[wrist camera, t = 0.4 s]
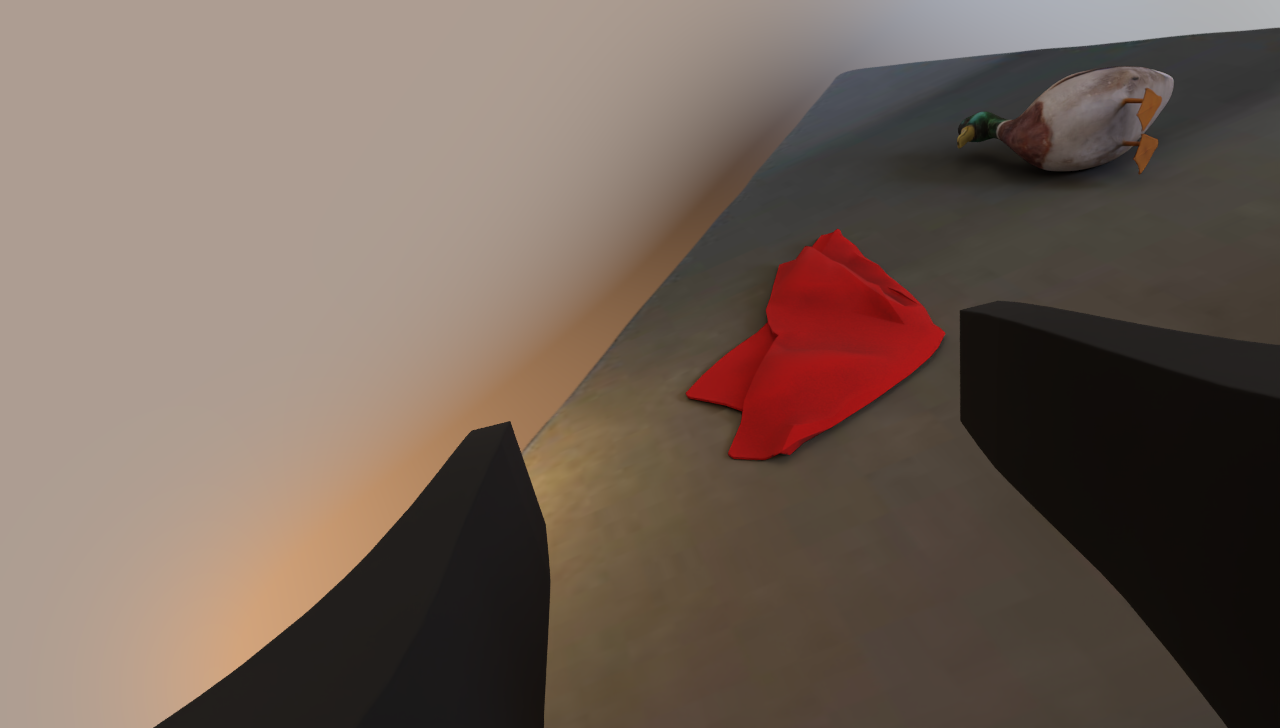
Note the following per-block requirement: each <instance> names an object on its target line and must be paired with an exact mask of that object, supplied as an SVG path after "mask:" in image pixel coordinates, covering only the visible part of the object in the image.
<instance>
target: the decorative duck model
mask: <svg viewBox="0 0 1280 728" xmlns="http://www.w3.org/2000/svg"><path fill="white" fill-rule="evenodd" d="M1173 84H1174V81H1173V78H1172V77H1171V76H1169V75H1167V74H1165V73H1162V72H1159V71H1155V70H1151V69H1148V68H1144V67H1133V66H1115V67H1107V68H1100V69H1093V70H1088V71H1083V72H1079V73H1076V74H1072V75H1070V76H1067V77H1065V78H1063V79H1062V80H1060V81H1058V82H1057V83H1055V84H1054V85H1053V86H1051V87H1050V88H1049V89H1048V90H1046V91H1045V92H1044V93H1043V94H1042V95H1041V96H1039V97H1038V98H1037V99H1036V100H1035V101H1034V102H1033V103H1032V104H1031V105H1030V106H1029V108H1028V109H1027V110H1026V111H1025V112H1024V113H1023V114H1022V115H1021V116H1020V117H1018V118H1016V119H1014V120H1007V119H1004V118H1001V117H999V116H997V115H995V114H993V113H990V112H980V113H977V114H975V115H972V116H970V117H968V118H966V119H965V120H964V121H962V122H961V124H960V125H959V128H958V133H959V137H958V139H957V144H958V148H961V147H963V146H964V145H965V144H966V143H967V142H981V141H985V140H988V139H991V138H997V139H1000V140H1001V141H1003V142H1004V143H1005V144H1006V145H1008V146H1009V147H1010V148H1011V149H1012V150H1013V151H1014V152H1016V153H1017V154H1018V155H1019V156H1020V157H1022V158H1023V159H1024V160H1025V161H1027V162H1028V163H1030V164H1032V165H1034V166H1036V167H1038V168H1041V169H1044V170H1048V171H1077V170H1083V169H1087V168H1092V167H1096V166H1099V165H1102V164H1105V163H1107V162H1110V161H1112V160H1114V159H1116V158H1118V157H1119V156H1121V155H1122V154H1124V153H1125V152H1126V151H1128V150H1129V149H1130V148H1131V147H1132V146H1139V147H1138V150H1137V152H1136V155H1135V157H1134V158H1133V160H1135V162H1136V163H1137V165H1138V167H1139V175H1140V174H1141V173H1142V171H1143V170H1144V168H1145V167H1146V166H1147V164H1148V162H1149V160H1150V158H1151V156H1152V154H1153V152H1154V151H1155V149H1156V148H1157V146H1158V139H1154V138H1152V137H1150V136H1148V135H1146V134H1144V132H1145V131H1146V130H1147V129H1148V128H1149V127H1150V125H1151V124H1152V123H1153V122H1154V120H1155V119H1156V118H1157V116H1158V115H1159V113H1160V112H1161V111H1162V109H1163V108H1164V106H1165V105H1166V104H1167V102H1168V100H1169V99H1170V97H1171V94H1172V91H1173ZM1141 136H1142V137H1141ZM1140 137H1141V141H1140V142H1137V140H1138V139H1139V138H1140Z"/></svg>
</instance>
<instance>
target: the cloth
mask: <svg viewBox="0 0 1280 728" xmlns="http://www.w3.org/2000/svg"><path fill="white" fill-rule="evenodd" d="M766 313H767V318H768V322H767V323H766V324H765V325H764V326H763V327H762V328H761V329H760V330H759V331H758V332H757V333H756V334H754V335H753V336H751V337H750V338H748V339H747V340H746V341H744V342H743V343H741V344H740V345H738V346H737V347H736V348H734V349H733V350H732V351H730V352H729V353H728V354H726V355H725V356H724V357H722V358H721V359H720V360H719V361H718V362H717V363H716V364H715V365H713V366H712V367H711V368H710V369H709V370H708V371H707V372H706V373H705V374H703V375H702V376H701V377H700V378H699V379H698V381H697V382H696V383H695V384H694V385H693V386H692V387H691V388H690V389H689V390H688V391H687V392H686V395H687V397H688V398H690V399H695V400H700V401H705V402H711V403H716V404H721V405H725V406H728V407H731V408H734V409H737V410H740V411H742V420H741V424H740V426H739V429H738V431H737V433H736V436H735V438H734V441H733V443H732V445H731V448H730V450H729V452H728V455H729V456H730V457H732V458H733V459H750V460H766V459H769V458H771V457H773V456H776V455H778V454H780V453H781V454H787V455H790V454H792V453H793V452H794V451H795V450H796V449H797V448H798V447H800V446H801V445H802V444H803V443H804V442H806V441H808V440H810V439H811V438H813V437H815V436H817V435H819V434H820V433H822V432H824V431H826V430H828V429H829V428H831V427H833V426H834V425H836V424H838V423H839V422H841V421H842V420H844V419H845V418H847V417H849V416H850V415H852V414H853V413H855V412H856V411H858V410H859V409H861V408H863V407H864V406H866V405H867V404H869V403H870V402H872V401H873V400H875V399H876V398H878V397H879V396H880V395H882V394H883V393H885V392H886V391H887V390H889V389H890V388H892V387H893V386H894V385H896V384H897V383H899V382H900V381H902V380H903V379H904V378H906V377H907V376H909V375H910V374H911V373H912V372H913V371H915V370H916V369H917V368H918V367H919V366H920V365H922V364H923V363H924V362H925V361H926V360H927V359H928V358H930V356H931V355H932V354H933V353H934V352H935V351H936V349H937V348H938V347H939V345H940V343H941V341H942V339H943V337H944V335H945V332H944V331H943V330H941V329H940V328H939V327H937V326H935V325H934V324H933V322H932V320H931V318H930V317H929V315H928V313H927V311H926V309H925V308H924V307H923V306H922V305H921V304H920V303H919V302H918V301H917V300H916V299H915V298H914V297H913V296H912V295H911V294H910V293H909V292H908V291H907V290H906V289H905V288H903V287H902V286H901V285H900V284H898V283H897V282H896V281H895V280H893V279H892V278H891V277H890V276H888V275H887V274H886V273H885V272H884V271H883V269H882V268H881V267H880V266H879V265H877V264H875V263H874V262H872V261H870V260H868V259H867V258H865V257H864V256H863V255H862V254H861V252H860V251H859V250H858V248H857V247H856V246H855V245H854V244H853V243H851V242H850V241H849V240H847V239H846V238H845V237H843V236H842V234H841V231H840V230H839V229H836V230H835V231H834V232H833V233H830V234H826V235H821V237H820V238H819V239H818V240H817V241H816V242H815V243H814V245H813V246H812V247H809V246H805V247H804V249H803V250H802V251H801V253H800V254H799V256H798V257H797V258H796V260H793V261H790V262H787V263H784V264H780V265H779V268H778V271H777V275H776V278H775V282H774V285H773V289H772V293H771V297H770V300H769V303H768V305H767V308H766Z"/></svg>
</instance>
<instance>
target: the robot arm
mask: <svg viewBox="0 0 1280 728" xmlns="http://www.w3.org/2000/svg"><path fill="white" fill-rule="evenodd" d="M960 421H961V422H962V424H963V425H964V426H965V428H966V429H967V431H968V432H969V433H970V435H971V436H972V438H973V439H974V441H975V442H976V443H977V445H978V446H979V447H980V449H981V450H982V451H983V453H984V454H985V455H986V456H987V458H988V459H989V460H990V462H991V463H992V464H993V465H994V467H995V468H996V469H997V470H998V471H999V472H1000V473H1001V474H1002V475H1003V476H1004V477H1005V478H1006V479H1007V481H1008V482H1009V483H1010V484H1011V485H1012V486H1013V487H1014V488H1015V489H1016V490H1017V491H1018V492H1019V493H1020V494H1021V495H1022V496H1023V497H1024V498H1025V499H1026V500H1027V501H1028V502H1029V503H1030V504H1031V505H1032V506H1033V507H1034V508H1035V509H1036V510H1037V511H1039V512H1040V513H1041V514H1042V515H1043V516H1044V517H1045V518H1046V519H1047V520H1048V521H1049V522H1050V523H1051V524H1052V525H1053V526H1054V527H1055V528H1056V529H1057V530H1058V531H1059V532H1060V533H1061V534H1062V535H1063V536H1064V537H1065V538H1066V539H1067V540H1068V541H1069V542H1070V543H1071V544H1072V545H1073V546H1074V547H1075V548H1076V549H1077V550H1078V551H1079V552H1080V553H1081V554H1082V555H1083V556H1084V557H1085V558H1086V559H1087V560H1088V561H1089V562H1090V563H1091V564H1092V565H1093V566H1094V567H1096V568H1097V569H1098V570H1099V571H1100V572H1101V573H1102V575H1103V576H1104V577H1105V578H1106V579H1107V580H1108V581H1109V582H1110V583H1111V584H1112V585H1113V586H1114V587H1115V588H1116V590H1117V591H1118V592H1119V593H1120V594H1121V595H1122V596H1123V597H1124V598H1125V599H1126V600H1127V602H1128V603H1129V604H1130V605H1131V607H1132V608H1133V609H1134V610H1135V611H1136V613H1137V614H1138V615H1139V616H1140V617H1141V619H1142V620H1143V621H1144V622H1145V623H1146V625H1147V626H1148V627H1149V628H1150V630H1151V631H1152V632H1153V633H1154V634H1155V636H1156V637H1157V638H1158V639H1159V640H1160V642H1161V643H1162V644H1163V645H1164V646H1165V648H1166V649H1167V650H1168V651H1169V652H1170V654H1171V655H1172V656H1173V657H1174V659H1175V660H1176V661H1177V663H1178V664H1179V665H1180V666H1181V668H1182V669H1183V670H1184V672H1185V673H1186V674H1187V675H1188V677H1189V678H1190V679H1191V681H1192V682H1193V683H1194V684H1195V686H1196V687H1197V688H1198V690H1199V691H1200V692H1201V693H1202V695H1203V696H1204V697H1205V699H1206V700H1207V701H1208V702H1209V704H1210V705H1211V706H1212V708H1213V709H1214V710H1215V711H1216V713H1217V714H1218V715H1219V717H1220V718H1221V719H1222V720H1223V722H1224V723H1225V724H1226V726H1227V727H1228V728H1280V345H1273V344H1265V343H1257V342H1249V341H1241V340H1234V339H1228V338H1221V337H1214V336H1208V335H1201V334H1195V333H1188V332H1182V331H1176V330H1170V329H1164V328H1159V327H1153V326H1147V325H1142V324H1137V323H1131V322H1126V321H1121V320H1115V319H1110V318H1105V317H1100V316H1094V315H1089V314H1084V313H1079V312H1073V311H1068V310H1063V309H1057V308H1052V307H1046V306H1039V305H1033V304H1026V303H1018V302H1007V301H996V302H992V303H988V304H983V305H979V306H975V307H971V308H967V309H963V310H960ZM549 604H550V568H549V555H548V544H547V533H546V524H545V521H544V518H543V515H542V512H541V509H540V507H539V504H538V501H537V498H536V495H535V492H534V489H533V486H532V483H531V480H530V477H529V475H528V472H527V469H526V466H525V463H524V460H523V457H522V454H521V451H520V448H519V445H518V443H517V440H516V437H515V434H514V431H513V428H512V425H511V422H510V421H509V422H505V423H501V424H497V425H493V426H489V427H485V428H481V429H477V430H473V431H471V432H470V433H469V434H468V435H467V436H466V437H465V439H464V440H463V441H462V443H461V444H460V445H459V446H458V447H457V449H456V450H455V451H454V453H453V454H452V455H451V456H450V457H449V459H448V460H447V461H446V463H445V464H444V465H443V467H442V468H441V469H440V470H439V472H438V473H437V474H436V475H435V477H434V478H433V479H432V480H431V482H430V483H429V484H428V485H427V487H426V488H425V489H424V490H423V492H422V493H421V494H420V495H419V497H418V498H417V499H416V500H415V502H414V503H413V504H412V505H411V506H410V508H409V509H408V510H407V511H406V512H405V513H404V514H403V516H402V517H401V518H400V519H399V520H398V521H397V522H396V523H395V524H394V526H393V527H392V528H391V529H390V530H389V531H388V532H387V533H386V535H385V536H384V537H383V538H382V539H381V540H380V541H379V542H378V544H377V545H376V546H375V547H374V548H373V549H372V550H371V552H370V553H368V554H367V556H366V557H365V558H364V559H363V560H362V561H361V562H360V563H359V564H358V565H357V566H356V567H355V568H354V569H353V570H352V571H351V572H350V573H349V574H348V575H347V576H346V577H345V578H344V579H343V580H342V581H340V582H339V583H338V584H337V585H336V586H335V587H334V588H333V589H332V590H331V591H330V592H329V593H327V594H326V595H325V596H324V597H323V598H322V599H321V600H320V601H319V602H318V603H317V604H316V605H314V606H313V607H312V608H311V609H310V610H309V611H308V612H306V613H305V614H304V615H303V616H302V617H301V618H299V619H298V620H297V621H296V622H294V623H293V624H292V625H291V626H289V627H288V628H287V629H286V630H284V631H283V632H282V633H281V634H280V635H278V636H277V637H276V638H275V639H273V640H272V641H271V642H270V643H269V644H267V645H266V646H265V647H264V648H262V649H261V650H260V651H259V652H257V653H256V654H255V655H254V656H252V657H251V658H250V659H249V660H247V661H246V662H245V663H244V664H243V665H241V666H240V667H238V668H237V669H236V670H235V671H233V672H232V673H231V674H229V675H228V676H226V677H225V678H224V679H222V680H221V681H220V682H218V683H217V684H215V685H214V686H213V687H211V688H210V689H208V690H207V691H206V692H204V693H203V694H202V695H201V696H199V697H197V698H196V699H195V700H193V701H192V702H190V703H189V704H188V705H186V706H185V707H183V708H182V709H180V710H179V711H177V712H176V713H174V714H173V715H171V716H170V717H168V718H167V719H165V720H164V721H162V722H161V723H160V724H158V725H157V726H155V727H154V728H544V704H545V685H546V665H547V646H548V626H549Z"/></svg>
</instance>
